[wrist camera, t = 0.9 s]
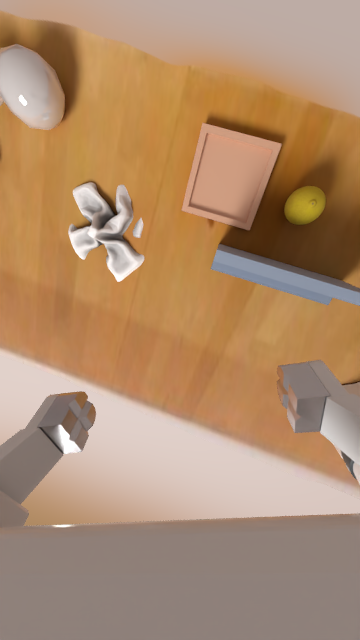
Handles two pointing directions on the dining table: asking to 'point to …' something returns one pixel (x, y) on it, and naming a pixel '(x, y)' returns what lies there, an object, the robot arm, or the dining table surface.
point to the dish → (229, 176)
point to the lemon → (305, 205)
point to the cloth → (106, 229)
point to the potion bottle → (30, 88)
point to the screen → (283, 276)
